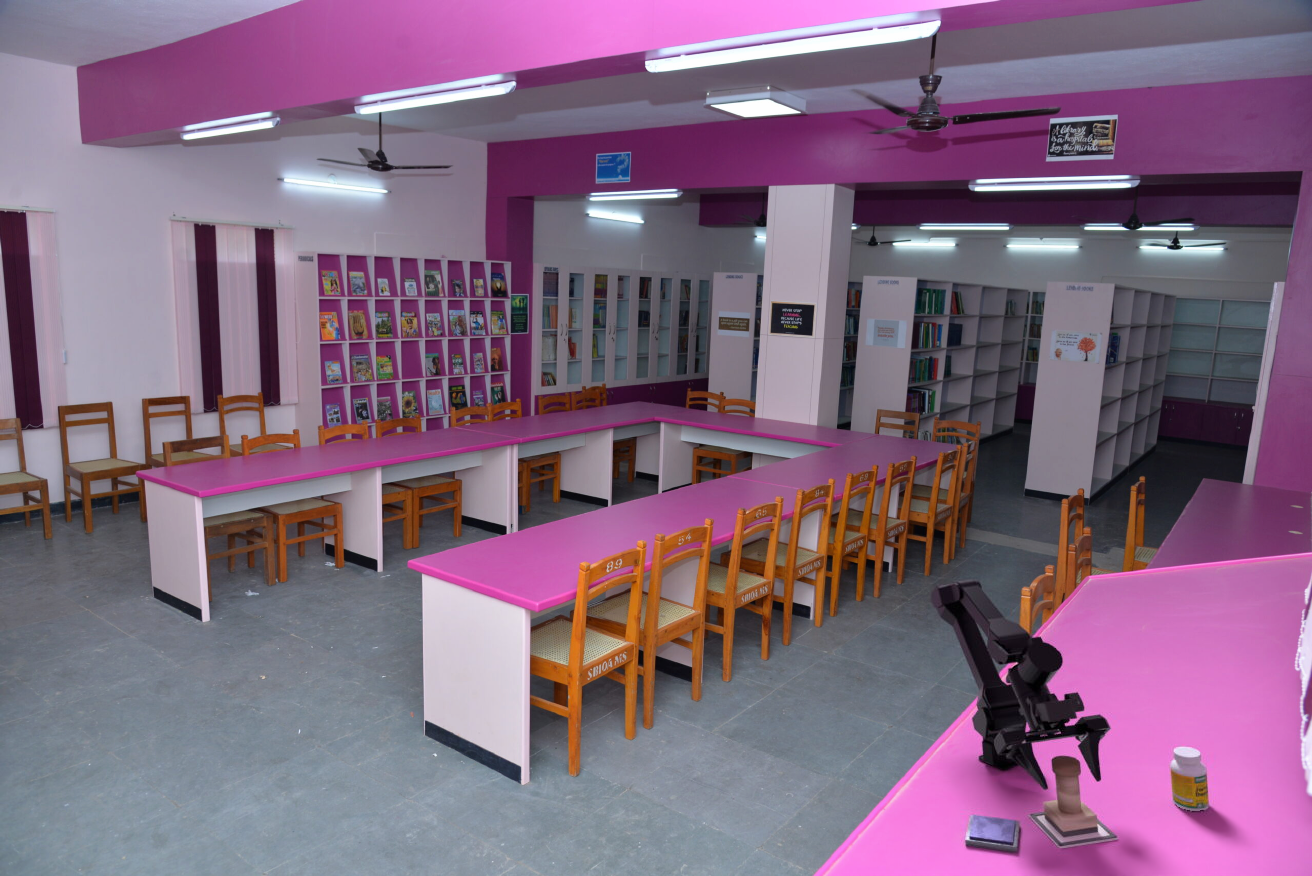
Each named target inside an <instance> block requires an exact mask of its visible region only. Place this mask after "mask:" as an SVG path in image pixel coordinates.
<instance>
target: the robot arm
mask: <svg viewBox="0 0 1312 876" xmlns="http://www.w3.org/2000/svg"><path fill="white" fill-rule="evenodd" d="M930 600H931V604H932V606H933V607H934V608H935V609H936V611H937V613H938V615H939V617H940V618H941V619H942V620H943V621H944V622H946V623H947V624H948V625H949V626H951V627H952V629H953V631H954V634H955V635H956V639H957V640H958V643H959V645H960V648H961V650H962V652H963V654H964V658H965V659H966V662H967V665H968V667H969V668H970V671H971V674H972V676H973V678H974V682H975V684H976V687H977V688H978V694H977V700H976V708H977V711H976V712H975V713H974V715H973V716H972V718H971V721H972V723H973V729H974V730H975V731H976V733H978V734H979V735H980V736H981V737H982V741H981V746H982V747H981V748H982V754H981V755H979V756H978V760H980V761H982V762H984V763H986V764H988V765H990V766H992V767H994V768H997V769H998V770H1000V771H1007V770H1009V769H1011V768H1013V767H1016V766H1018V765H1019V767H1021V768H1022V769H1023V770H1025V771H1026V773H1028V775H1029V776H1030V777H1032V779H1033V780H1034V781H1035V782H1036V783H1037V784H1038V785H1039V787H1041V788H1042V789H1043V790H1048V789H1049V786H1048V784H1047V783H1048V782H1047V780H1046V778H1045V775H1044V773H1043V770H1042V768H1041V766H1040V764H1039V762H1038V761H1037V758H1036V756H1035V753H1034V750H1033V749H1034V747H1033V744H1034V743H1041V742H1047V741H1049V742H1050V741H1056V740H1062V739H1067V738H1075V740H1076V741H1078V742H1080V743H1079V744H1078V745H1077V747H1078V749H1079V751H1080V754H1081V756H1082V758H1083V760H1084V761H1085V763H1086V765H1087V768H1088V769H1089V771H1090V773H1091V775H1092V776H1093V778H1094V780H1095V782H1101V780H1102V773H1101V766H1100V765H1101V764H1100V753H1099V750H1100V747H1099V746H1100V742H1101V740H1102V739H1103V738H1104V737H1105V736H1106V734H1108V732H1109V731H1110V730H1111V729H1112V728H1111V726H1110V724H1109V722H1108V720H1107V718H1106V717H1104V716H1103V715H1101V714H1100V713H1099V714H1093V715H1086V716H1081V717H1079V719H1078V715H1077V713H1081V712H1084V711H1085V709H1086V708H1085V705H1084V702H1083V699H1082V697H1081V696H1080V694H1079V692H1078V691H1076V692H1069V693H1064V695H1063V697H1064V699H1061V700H1059V699H1058V696H1057V695H1056V694H1055V693H1052V692H1051V691H1050V689H1049V687H1048V683H1050V682H1051V680H1052V679H1053V678H1054V677H1055V676H1056V674H1057V673H1058V671H1059V670H1060V669H1061V668H1062V666H1063V663H1064V660H1063V659H1064V658H1063V655H1062V653H1061V652H1060V650H1058V649H1057V648H1056V647H1055V646H1054V645H1053V644H1050V643H1048V642H1046V641H1045V642H1044V641H1043V638H1042V637H1041V636H1032V635H1031V634H1030V633H1029V632H1028V631H1027V630H1026V629H1025V628H1024V627H1022V626H1021V625H1020V624H1019V623H1017V622H1014V621H1012V620H1008V619H1007V618H1006V616H1005V615H1004V614H1003V613H1002V612H1001V611H1000V609H999V608H998V607H997V606H996V605H995V603H994V602H993V600H991V599H990V597H989V596H988V595H987V594H986V592H985V591H984V590H983V587H982V585H981V583H980V581H979V580H977V579H966V580H960V581H955V582H954V583H948V584H947V583H946V584H941V585H935V587H934V590H932V591H931V593H930ZM980 629H981V630H980ZM981 631H982V632H983V634H984V635H985V636H986V638H987V640H986V641H987V642H986V641H985V639H984V637H983V635H982V633H981ZM994 661H995V662H994ZM995 663H997V664H998V665H1000V666H1001V665H1003V666H1004V665H1009V664H1014V665H1013V666H1012V667H1008V669H1007V674H1006V676H1005V682H1004V681H1003V680H1002V677H1000V674H999V671H998V669H997V666H996V665H995ZM1015 663H1016V664H1015ZM1075 719H1078V720H1077V721H1076V722H1075V724H1071V725H1070V724H1069V722H1071V720H1075ZM1066 724H1069V725H1066ZM1027 725H1028V728H1029V730H1028V731H1027V730H1026V729H1027Z"/></svg>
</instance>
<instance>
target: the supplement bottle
mask: <svg viewBox="0 0 1312 876" xmlns="http://www.w3.org/2000/svg"><path fill="white" fill-rule="evenodd" d="M1169 766H1170V767H1169V769H1170V770H1169V771H1170V781H1171V796H1172V801H1173V804H1176V805H1177V807H1178V808H1179V807H1180V808H1179V809H1181V808H1183V809H1182V810H1184V809H1186V810H1185V811H1187V810H1190V811H1189V812H1192V811H1200V810H1204V811H1207V810H1208V808H1209V807H1210V804H1209V803H1210V801H1209V785H1208V771H1207V768H1206V766H1205V764H1204V763H1203V762H1202V753H1201V752H1200V751H1199V750H1198V749H1196V748H1194V747H1190V746H1189V747H1188V746H1177V747H1175V748H1174V749H1173V759H1172V760H1171V761H1170V764H1169ZM1176 805H1175V806H1176Z"/></svg>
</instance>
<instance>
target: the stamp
mask: <svg viewBox="0 0 1312 876" xmlns="http://www.w3.org/2000/svg"><path fill="white" fill-rule="evenodd" d="M1050 761H1051V771H1052V773H1054V776H1055V778H1054V779H1055V789H1056V799H1054V800H1046V801H1043V812H1044V815H1045V819H1046V820H1047V821H1048V822H1049V823H1050V824H1051V825H1052V826H1053V827H1054V828H1055V829H1056V830H1057V831H1058V832H1059V833H1060V834H1061V835H1062V836H1063V837H1070V836H1076V835H1083V834H1089V833H1096V832H1098V823H1097V819H1098V815H1097V814H1096V813H1095V811H1093V810H1092V809H1090V807H1088V805H1086V804H1085V803H1084V802H1083V801H1082V799H1081V789H1080V788H1081V787H1080V777H1079V776H1080V775H1081V773H1082V769H1081V762H1080V761H1079V759H1077V758H1076V757H1073V756H1070V755H1069V756H1068V755H1057V756H1054V757H1052V759H1051V760H1050Z"/></svg>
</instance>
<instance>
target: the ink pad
mask: <svg viewBox="0 0 1312 876" xmlns="http://www.w3.org/2000/svg"><path fill="white" fill-rule="evenodd" d="M1020 827H1021V826H1020V820H1015V819H1009V818H1001V817H993V816H985V815H977V814H970V815H969V820H968V824H967V829H966V834H965V839H964V841H965V843H964V844H965V846H966V847H974V848H980V849H988V850H995V851H1000V852H1001V851H1002V852H1006V853H1007V852H1009V853H1015V854H1017V853H1018V847H1019V837H1020Z"/></svg>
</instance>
